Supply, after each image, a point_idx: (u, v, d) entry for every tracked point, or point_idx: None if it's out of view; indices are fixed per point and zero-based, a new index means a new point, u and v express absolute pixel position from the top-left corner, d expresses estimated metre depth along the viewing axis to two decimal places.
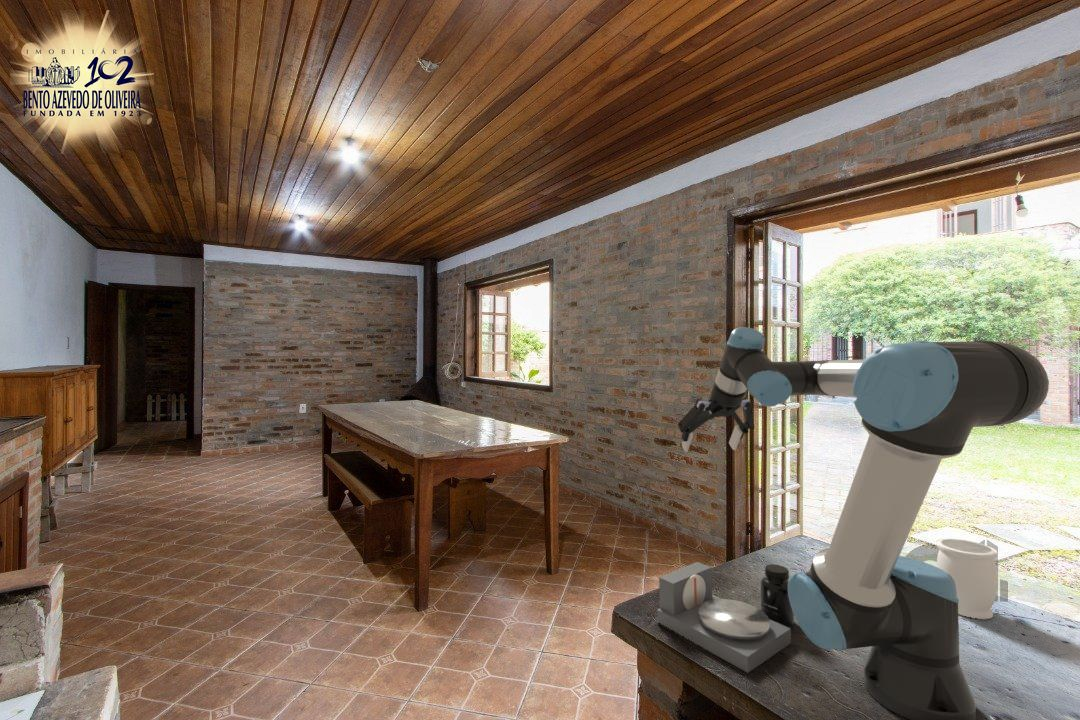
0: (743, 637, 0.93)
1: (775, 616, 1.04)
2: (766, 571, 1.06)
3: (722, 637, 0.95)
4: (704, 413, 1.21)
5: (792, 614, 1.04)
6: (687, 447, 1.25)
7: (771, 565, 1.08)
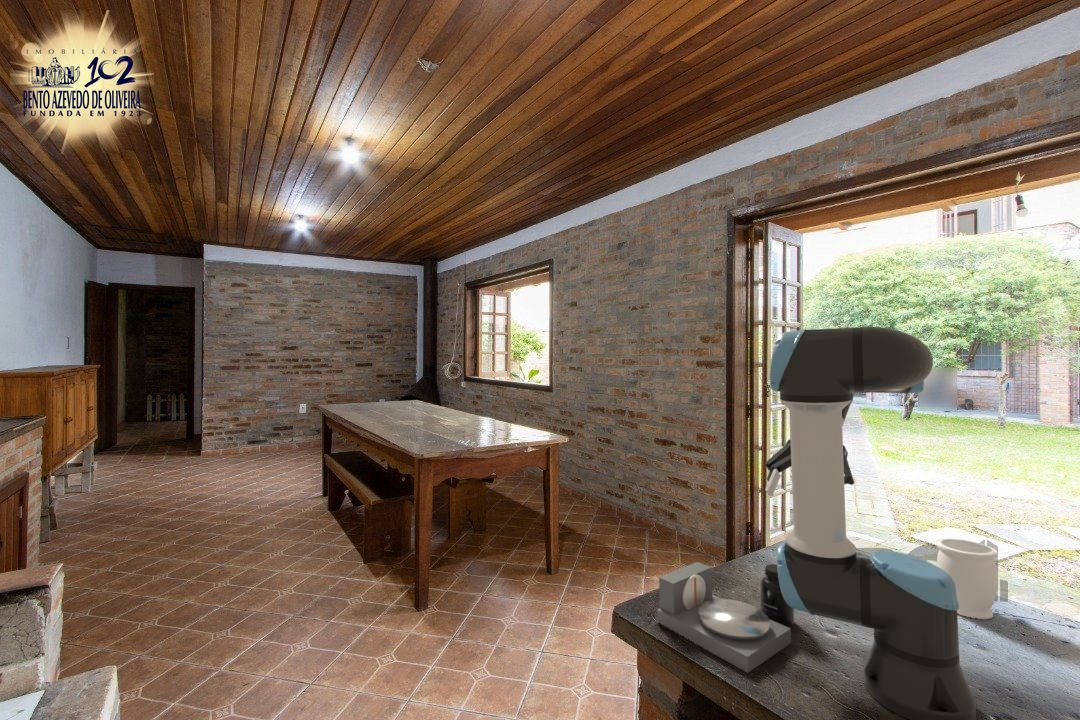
0: (743, 637, 0.93)
1: (775, 616, 1.04)
2: (766, 571, 1.06)
3: (722, 637, 0.95)
4: None
5: (792, 614, 1.04)
6: (768, 484, 1.19)
7: (771, 565, 1.08)
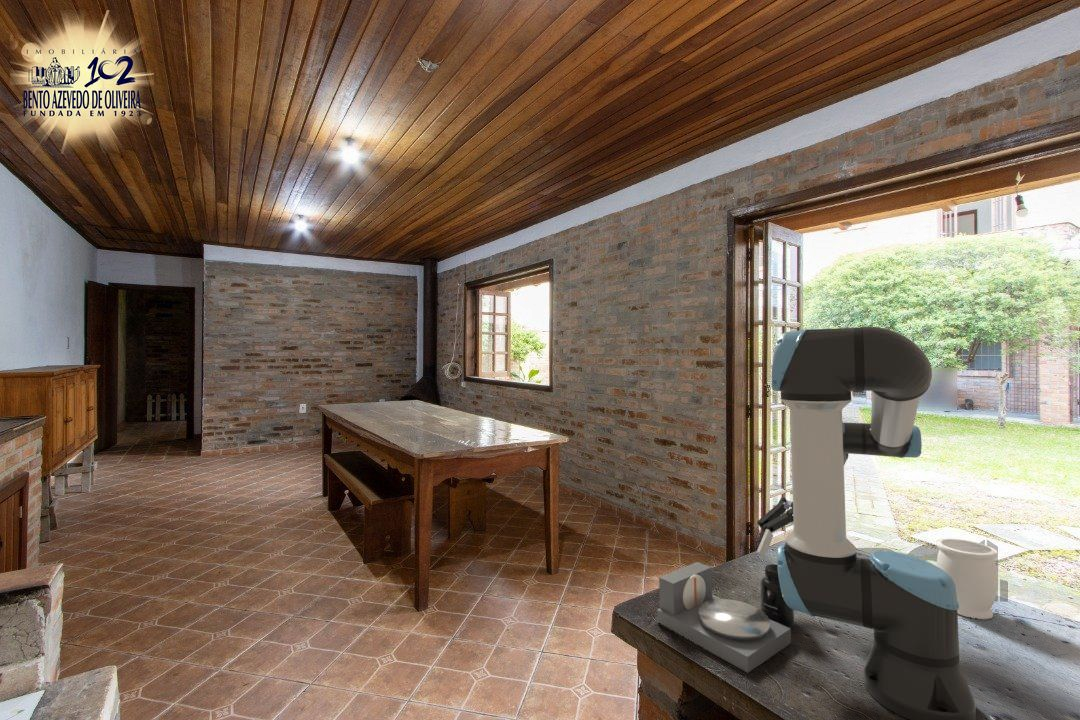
0: (743, 637, 0.93)
1: (775, 616, 1.04)
2: (766, 571, 1.06)
3: (722, 637, 0.95)
4: None
5: (792, 614, 1.04)
6: (760, 545, 1.16)
7: (771, 565, 1.08)
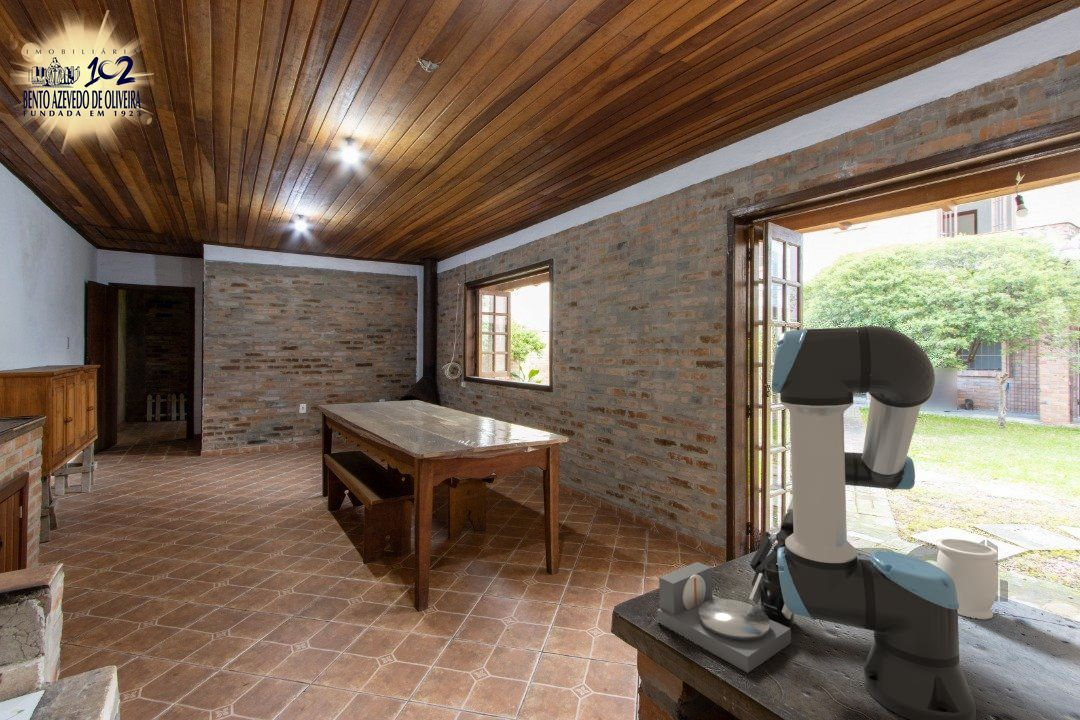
0: (743, 637, 0.93)
1: (775, 616, 1.04)
2: (766, 571, 1.07)
3: (722, 637, 0.95)
4: None
5: (792, 614, 1.04)
6: (753, 592, 1.08)
7: (771, 565, 1.08)
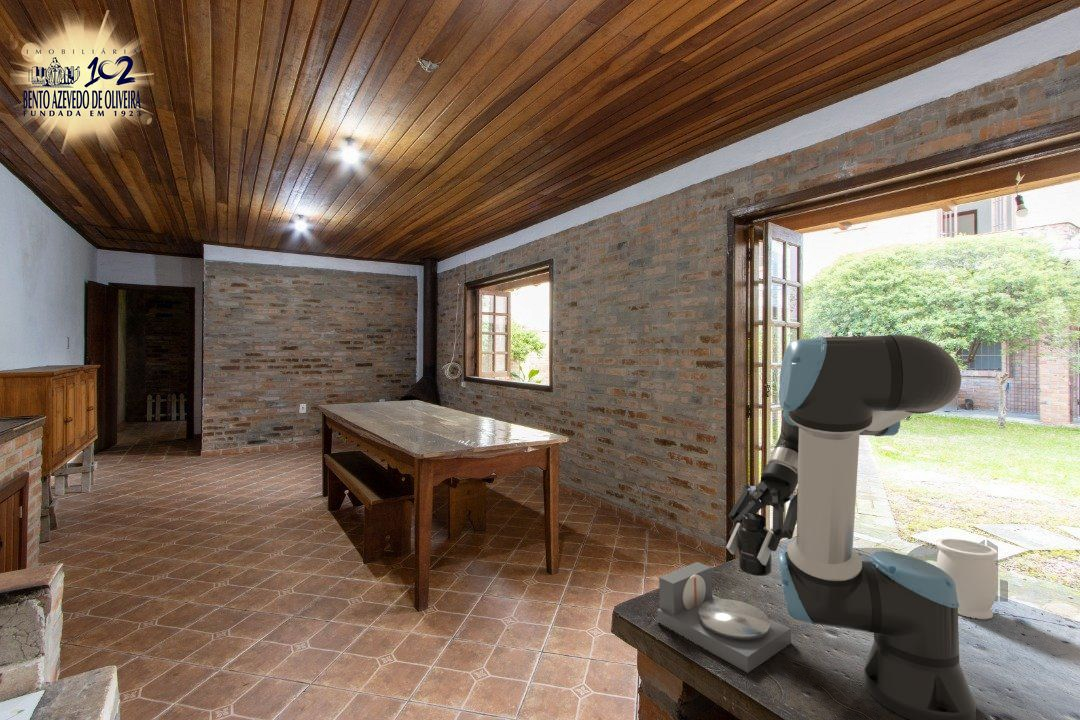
0: (743, 637, 0.93)
1: (752, 563, 1.02)
2: (743, 519, 1.05)
3: (722, 637, 0.95)
4: None
5: (769, 561, 1.02)
6: (730, 541, 1.06)
7: (748, 514, 1.07)
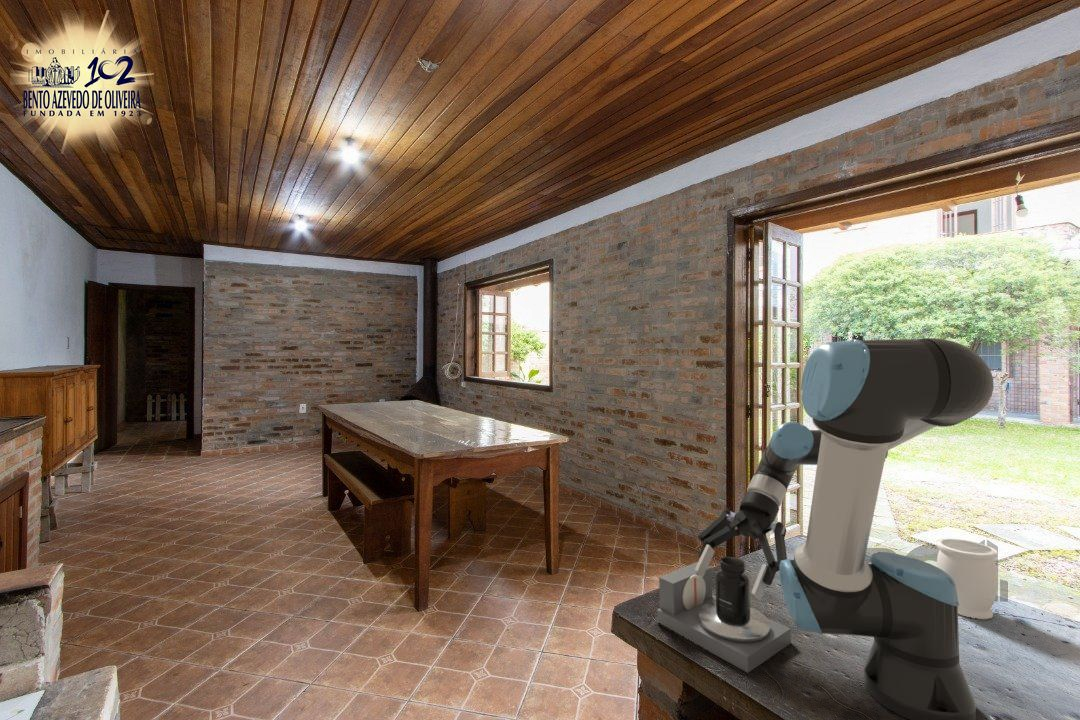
0: (743, 640, 0.93)
1: (730, 612, 0.97)
2: (721, 564, 1.00)
3: None
4: None
5: (747, 610, 0.97)
6: (698, 563, 1.04)
7: (727, 558, 1.02)
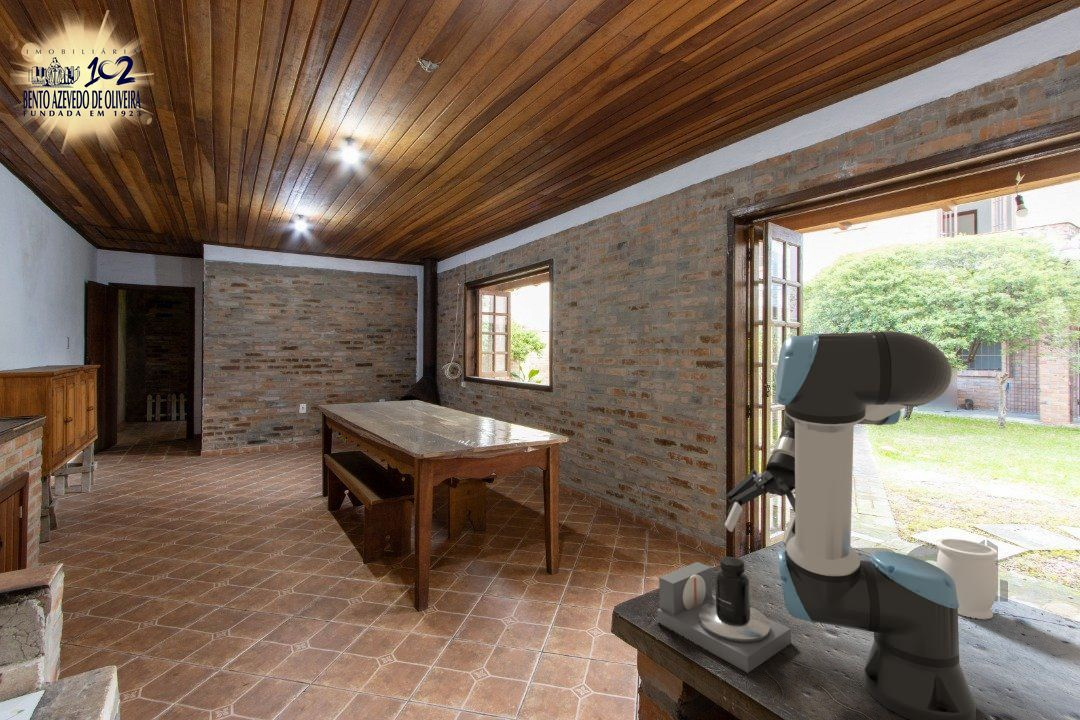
0: (743, 640, 0.93)
1: (729, 611, 0.97)
2: (721, 564, 1.00)
3: None
4: None
5: (747, 609, 0.97)
6: (728, 519, 1.11)
7: (727, 558, 1.02)
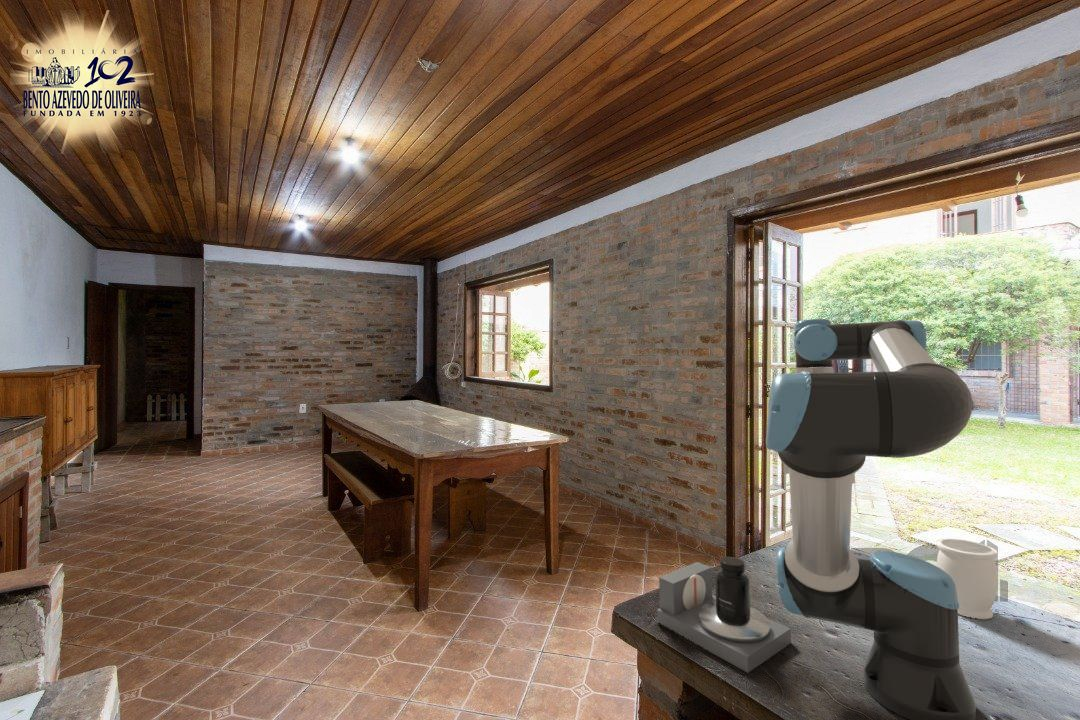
0: (743, 640, 0.93)
1: (729, 611, 0.97)
2: (721, 564, 1.00)
3: None
4: None
5: (747, 609, 0.97)
6: (784, 466, 1.13)
7: (727, 558, 1.02)
